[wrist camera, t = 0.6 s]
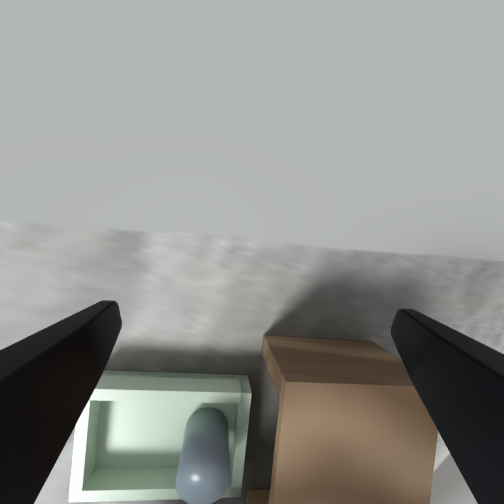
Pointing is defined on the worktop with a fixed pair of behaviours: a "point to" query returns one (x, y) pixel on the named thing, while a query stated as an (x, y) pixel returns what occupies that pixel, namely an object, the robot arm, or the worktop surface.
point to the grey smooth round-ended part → (204, 458)
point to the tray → (151, 433)
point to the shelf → (346, 426)
